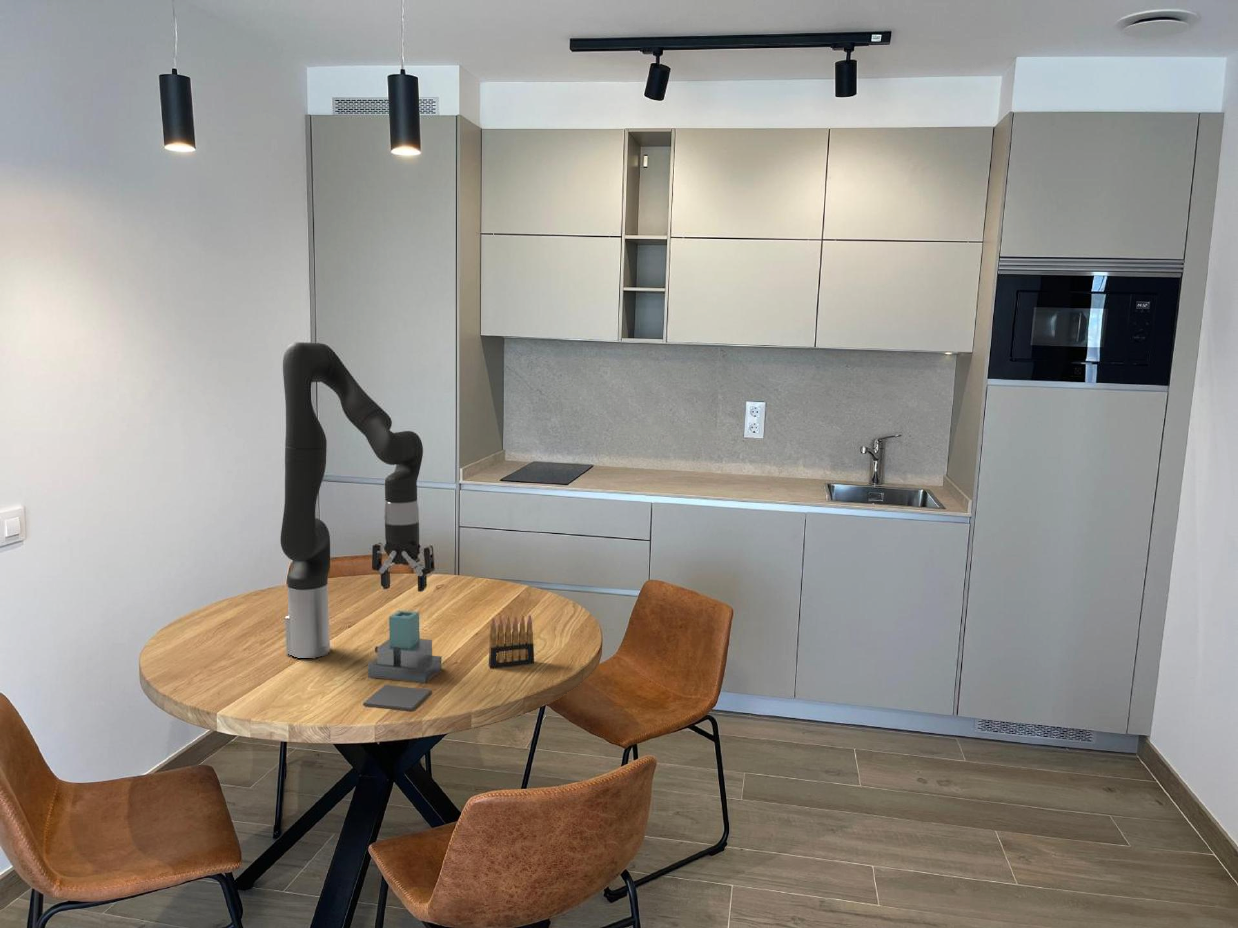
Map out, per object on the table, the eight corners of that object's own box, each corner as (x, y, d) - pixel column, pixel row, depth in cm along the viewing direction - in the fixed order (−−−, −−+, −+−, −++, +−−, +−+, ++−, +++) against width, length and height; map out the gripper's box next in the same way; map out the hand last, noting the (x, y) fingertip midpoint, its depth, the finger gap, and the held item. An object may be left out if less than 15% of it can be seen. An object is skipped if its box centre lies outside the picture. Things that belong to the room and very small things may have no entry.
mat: (363, 705, 188) (363, 702, 188) (385, 687, 197) (385, 684, 197) (411, 710, 185) (411, 708, 185) (431, 692, 195) (431, 689, 195)
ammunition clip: (532, 660, 215) (532, 612, 213) (534, 663, 213) (534, 615, 211) (488, 665, 211) (488, 617, 209) (490, 668, 209) (489, 619, 208)
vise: (367, 676, 203) (365, 619, 201) (385, 662, 212) (384, 608, 210) (425, 682, 200) (424, 625, 198) (441, 668, 209) (440, 612, 207)
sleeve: (389, 646, 203) (389, 616, 202) (399, 639, 208) (399, 610, 207) (410, 648, 202) (409, 618, 201) (419, 641, 207) (419, 611, 206)
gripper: (438, 518, 203) (439, 587, 205) (380, 515, 206) (382, 583, 208) (424, 525, 196) (426, 596, 198) (364, 521, 199) (367, 592, 201)
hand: (403, 589), depth 203 cm, fingers open, 8 cm apart
